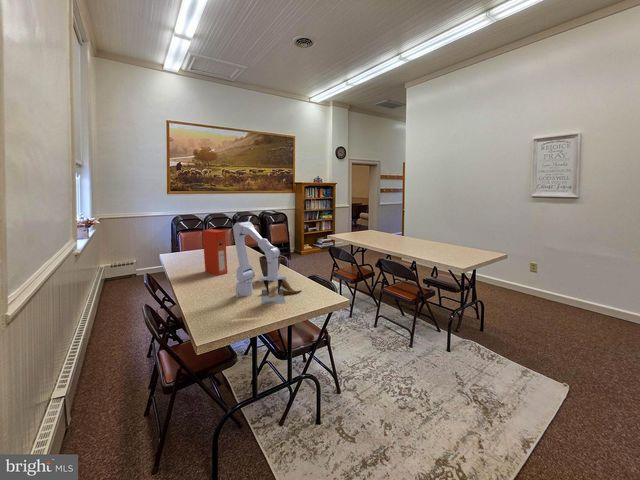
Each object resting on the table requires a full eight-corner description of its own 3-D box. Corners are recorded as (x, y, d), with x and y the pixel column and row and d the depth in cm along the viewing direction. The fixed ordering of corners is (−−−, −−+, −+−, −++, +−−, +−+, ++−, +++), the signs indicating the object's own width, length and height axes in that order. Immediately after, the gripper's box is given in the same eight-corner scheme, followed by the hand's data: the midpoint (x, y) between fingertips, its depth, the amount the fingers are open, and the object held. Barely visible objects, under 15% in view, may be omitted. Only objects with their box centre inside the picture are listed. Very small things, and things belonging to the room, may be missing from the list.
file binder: (217, 275, 224) (215, 232, 219) (204, 271, 235) (202, 230, 229) (227, 273, 230) (225, 231, 225) (214, 269, 241) (212, 229, 235)
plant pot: (283, 276, 222) (282, 255, 219) (278, 283, 208) (277, 260, 205) (263, 276, 224) (262, 254, 221) (256, 282, 209) (256, 259, 206)
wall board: (261, 306, 167) (261, 299, 166) (261, 295, 184) (261, 288, 184) (285, 305, 169) (285, 298, 169) (283, 293, 187) (283, 287, 186)
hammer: (275, 281, 210) (283, 295, 181) (276, 277, 209) (284, 290, 181) (292, 282, 213) (302, 297, 185) (292, 278, 213) (303, 291, 185)
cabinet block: (268, 298, 168) (268, 289, 167) (268, 294, 174) (268, 285, 173) (278, 297, 169) (278, 288, 168) (277, 293, 175) (277, 285, 174)
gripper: (259, 272, 164) (260, 296, 166) (286, 270, 167) (286, 294, 169) (259, 268, 171) (260, 291, 173) (285, 267, 174) (285, 290, 176)
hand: (273, 293), depth 172 cm, fingers closed on cabinet block, 5 cm apart
